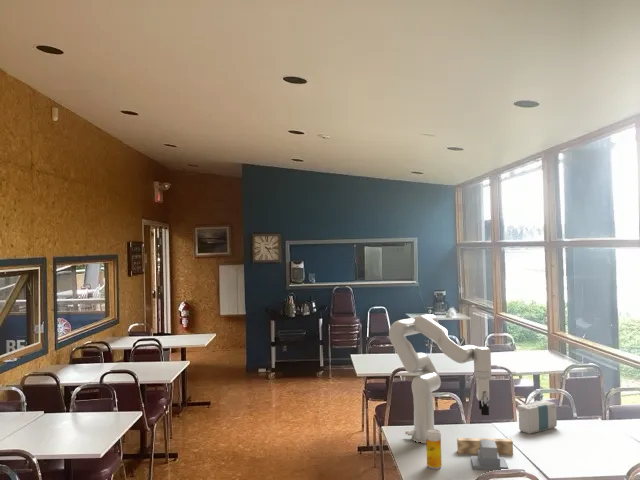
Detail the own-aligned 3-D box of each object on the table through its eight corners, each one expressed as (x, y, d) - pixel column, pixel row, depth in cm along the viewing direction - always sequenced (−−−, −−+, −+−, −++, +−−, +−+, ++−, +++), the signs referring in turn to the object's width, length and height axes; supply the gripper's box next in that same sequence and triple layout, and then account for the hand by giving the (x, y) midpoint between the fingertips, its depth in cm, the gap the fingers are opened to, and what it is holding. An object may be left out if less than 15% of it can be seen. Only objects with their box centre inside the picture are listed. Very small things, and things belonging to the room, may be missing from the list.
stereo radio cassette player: (530, 435, 277) (528, 394, 278) (516, 431, 285) (515, 391, 285) (557, 428, 288) (556, 389, 289) (544, 424, 295) (543, 386, 296)
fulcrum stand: (473, 469, 234) (472, 447, 234) (470, 459, 245) (470, 438, 246) (508, 471, 231) (507, 449, 231) (504, 460, 243) (503, 439, 243)
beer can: (425, 464, 240) (424, 429, 241) (439, 463, 241) (438, 428, 241) (429, 469, 234) (428, 433, 235) (443, 469, 235) (442, 432, 235)
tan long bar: (458, 453, 254) (458, 440, 254) (457, 451, 257) (457, 437, 257) (513, 455, 251) (512, 441, 251) (511, 452, 254) (510, 439, 254)
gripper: (472, 370, 265) (473, 407, 264) (476, 378, 248) (477, 417, 247) (489, 370, 263) (490, 407, 263) (493, 378, 246) (495, 417, 246)
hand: (484, 412), depth 255 cm, fingers open, 9 cm apart
